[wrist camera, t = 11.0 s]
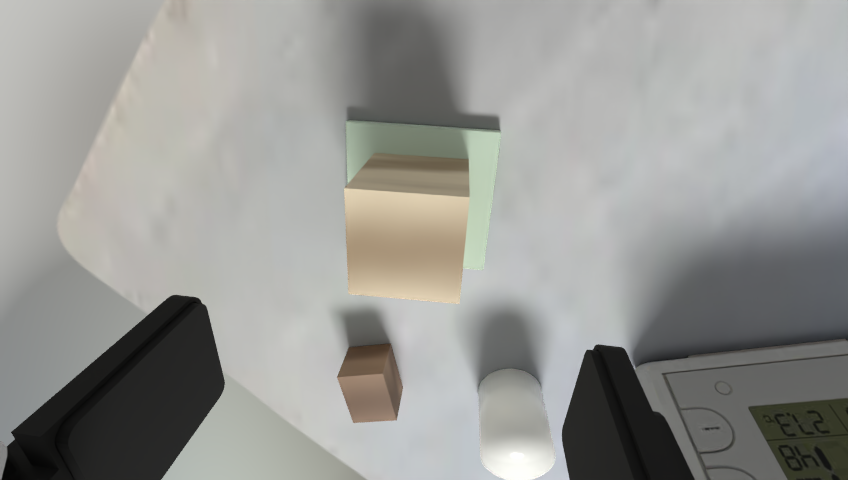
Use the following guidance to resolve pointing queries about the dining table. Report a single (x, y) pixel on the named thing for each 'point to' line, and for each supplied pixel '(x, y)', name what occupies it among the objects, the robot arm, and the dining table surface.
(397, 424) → the dining table surface
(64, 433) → the robot arm
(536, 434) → the white capsule
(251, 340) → the dining table surface
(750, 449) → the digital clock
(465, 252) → the felt pad
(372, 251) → the beech block
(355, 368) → the walnut box
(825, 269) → the dining table surface
